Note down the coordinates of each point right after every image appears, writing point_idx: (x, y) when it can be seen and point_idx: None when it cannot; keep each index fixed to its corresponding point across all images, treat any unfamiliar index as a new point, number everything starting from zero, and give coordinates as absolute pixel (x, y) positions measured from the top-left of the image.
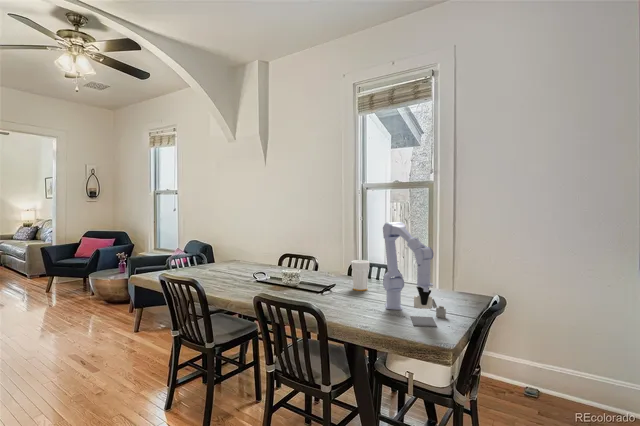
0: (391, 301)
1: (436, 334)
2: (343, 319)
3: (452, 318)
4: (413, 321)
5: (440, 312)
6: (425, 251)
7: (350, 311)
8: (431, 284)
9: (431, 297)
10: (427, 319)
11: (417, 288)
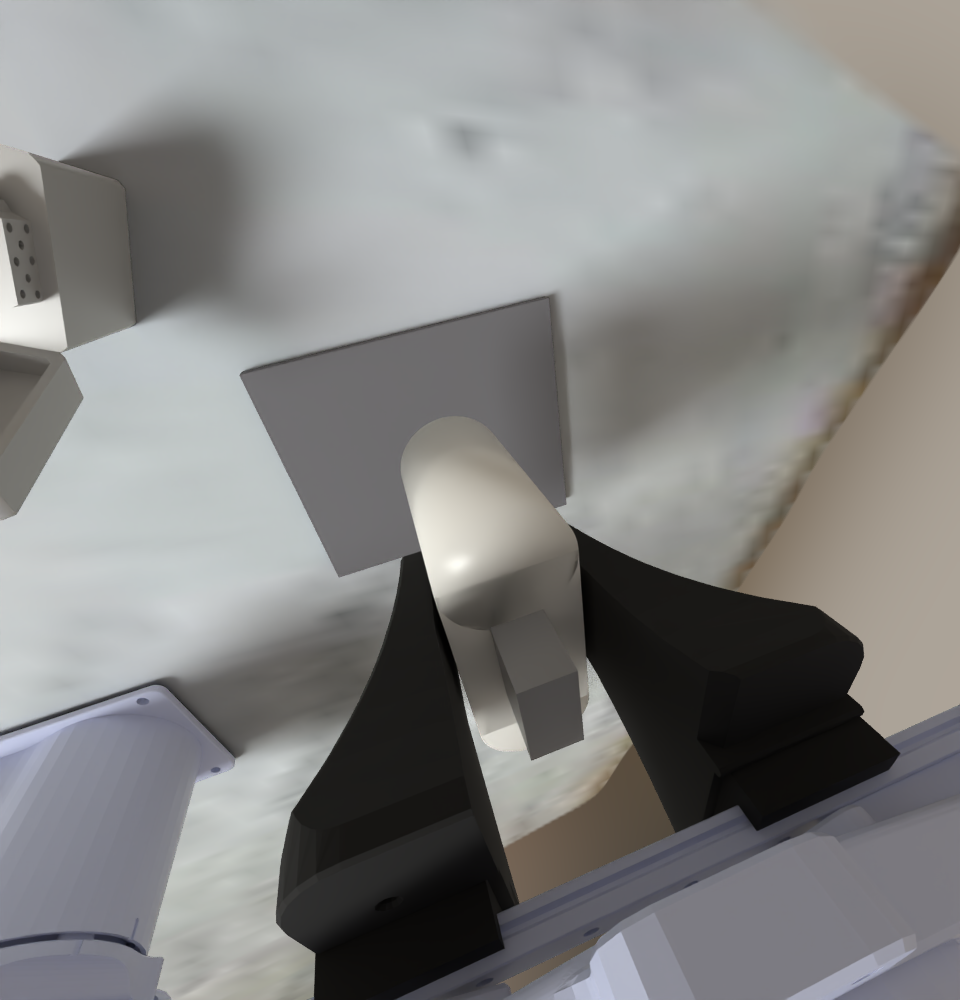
0: (182, 816)
1: (715, 298)
2: (543, 794)
3: (26, 14)
4: None
5: (95, 261)
6: None
7: None
8: (895, 952)
9: (546, 515)
10: (367, 419)
11: (515, 895)
